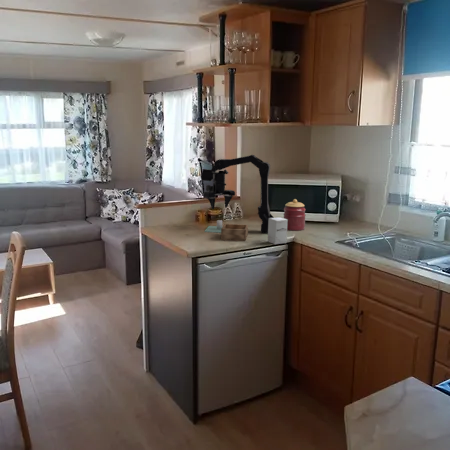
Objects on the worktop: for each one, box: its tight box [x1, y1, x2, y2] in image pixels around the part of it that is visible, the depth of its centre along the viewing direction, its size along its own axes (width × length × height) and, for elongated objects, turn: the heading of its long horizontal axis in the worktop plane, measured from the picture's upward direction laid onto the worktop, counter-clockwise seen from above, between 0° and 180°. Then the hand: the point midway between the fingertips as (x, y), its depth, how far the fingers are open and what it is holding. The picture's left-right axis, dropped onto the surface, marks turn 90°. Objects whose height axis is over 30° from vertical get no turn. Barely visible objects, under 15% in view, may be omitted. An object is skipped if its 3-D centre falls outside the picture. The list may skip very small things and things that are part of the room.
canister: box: [283, 198, 307, 231], centre depth 280 cm, size 13×13×18 cm
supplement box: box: [267, 217, 288, 245], centre depth 247 cm, size 7×7×13 cm
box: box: [220, 223, 249, 242], centre depth 256 cm, size 13×13×6 cm
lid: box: [204, 219, 223, 234], centre depth 275 cm, size 15×15×6 cm
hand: (219, 208), depth 273 cm, fingers open, 9 cm apart
